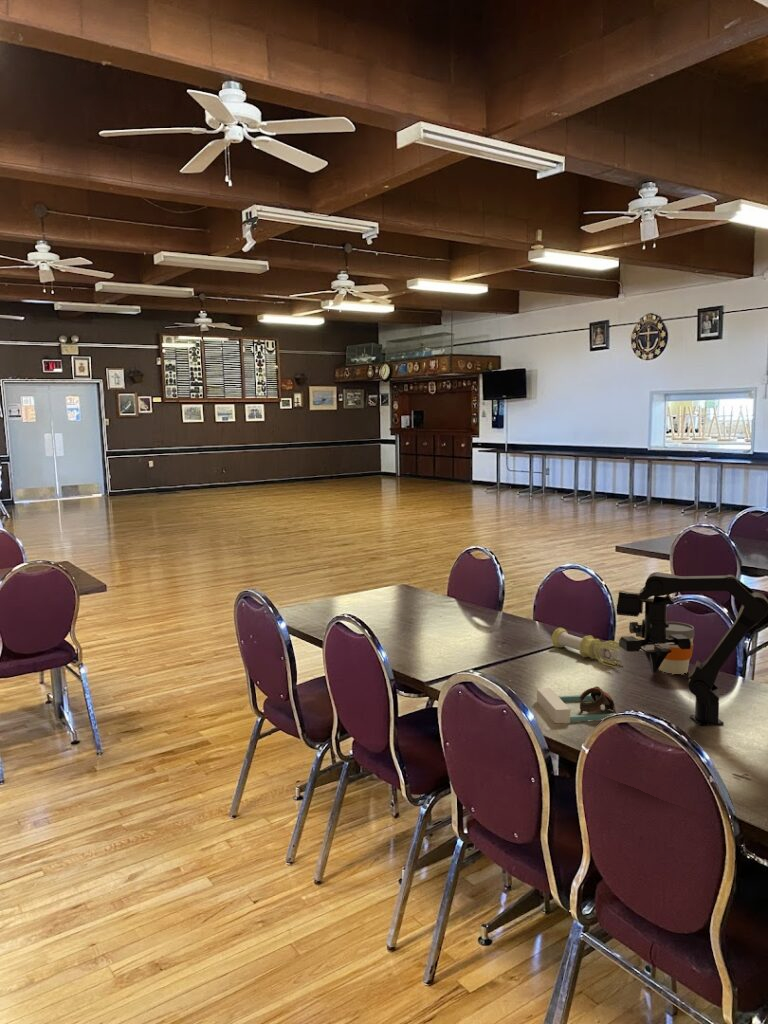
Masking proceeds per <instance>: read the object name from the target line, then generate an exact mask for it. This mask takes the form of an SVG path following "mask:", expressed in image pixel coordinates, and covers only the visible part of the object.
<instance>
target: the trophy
mask: <svg viewBox="0 0 768 1024" xmlns="http://www.w3.org/2000/svg"><path fill="white" fill-rule="evenodd" d="M551 643H552V645H553V647H555V648H559V647H560V648H564V647H567V648H571V649H573V650H577V651H578V652H579V654H580V655H581V656H582V658H584V657H586V658H590V660H591V659H593V660H594V659H597V661H598V662H599V663H602V665H603V664H605V665H604V666H606V665H607V667H609V666H611V667H610V668H612V667H614V668H613V669H615V668H617V666H619V665H620V666H619V667H622V666H623V667H624V665H623V662H622V660H621V659H618V657H619V651H618V650H622V649H623V648H621V647H620V646H619V641H614V640H612V639H611V640H606V641H601V640H600V639H599V638H595V637H594V636H593V635H586V636H582V637H579V636H575V635H573V634H569V632H568V631H567V630H566V629H565V628H564V627H558V628H556V629H555V630H554V631H553V633H552V635H551ZM616 664H617V665H616Z"/></svg>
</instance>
